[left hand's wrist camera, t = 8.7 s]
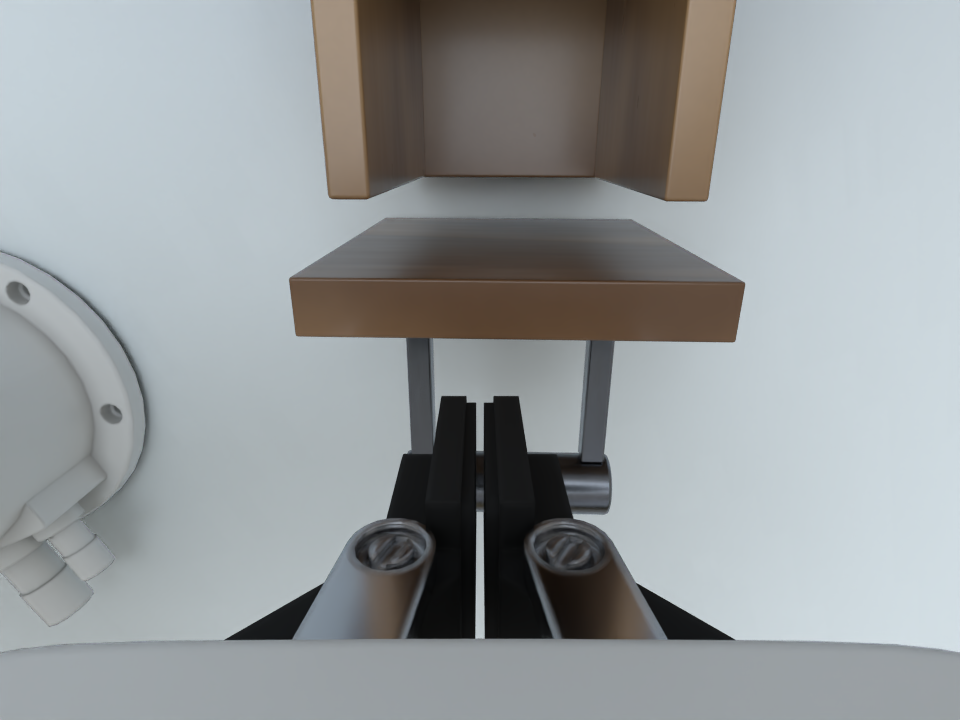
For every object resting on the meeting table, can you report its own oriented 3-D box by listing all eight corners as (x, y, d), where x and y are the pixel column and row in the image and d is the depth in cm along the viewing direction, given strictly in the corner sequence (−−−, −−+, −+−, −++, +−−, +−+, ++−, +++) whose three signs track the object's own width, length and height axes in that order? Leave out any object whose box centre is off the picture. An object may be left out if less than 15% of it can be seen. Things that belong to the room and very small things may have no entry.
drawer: (614, 405, 22) (693, 584, 13) (395, 401, 22) (323, 574, 13) (709, -564, 13) (1175, -2148, 4) (341, -551, 13) (9, -2007, 4)
